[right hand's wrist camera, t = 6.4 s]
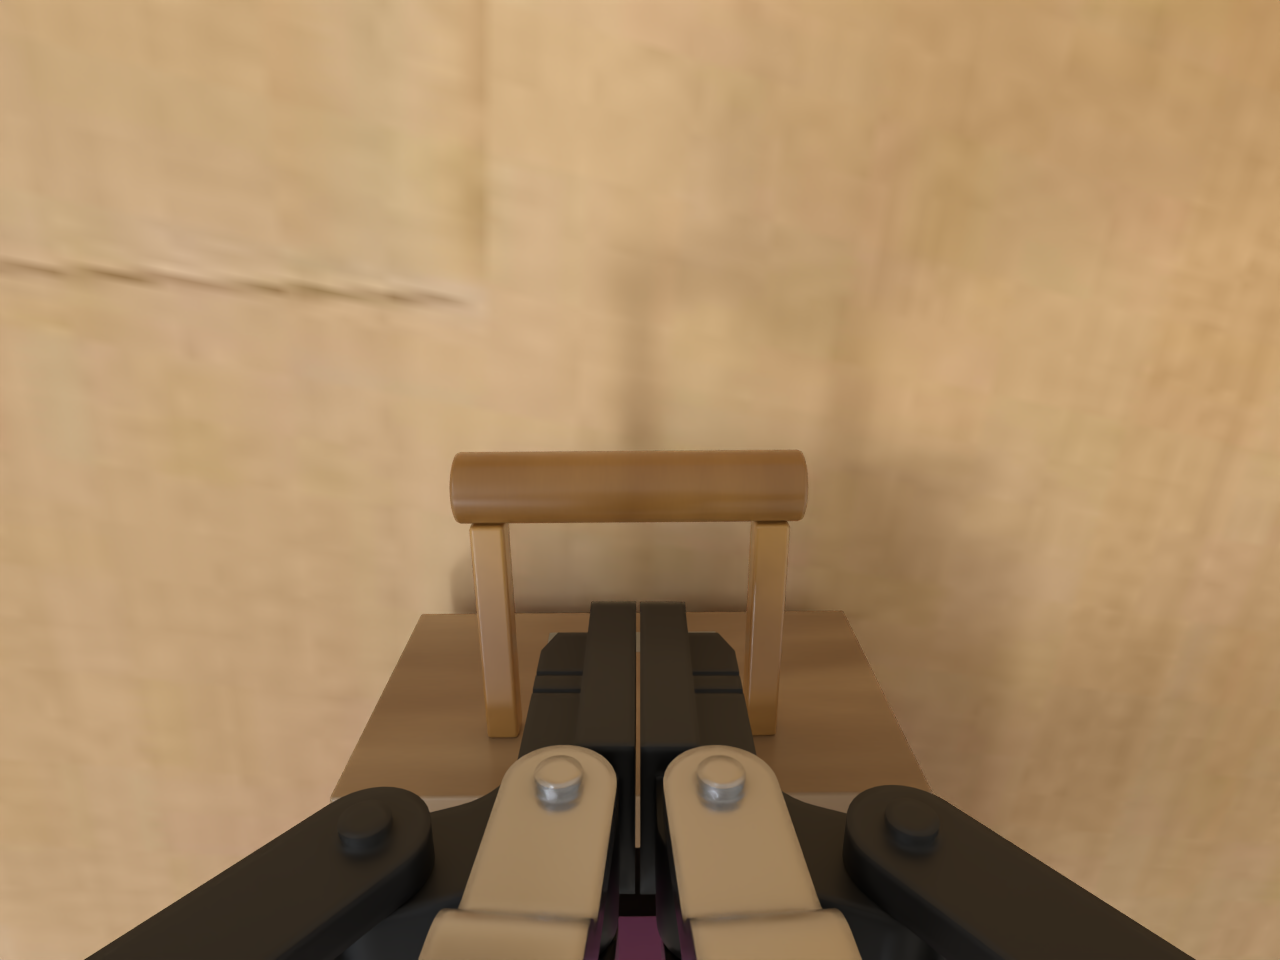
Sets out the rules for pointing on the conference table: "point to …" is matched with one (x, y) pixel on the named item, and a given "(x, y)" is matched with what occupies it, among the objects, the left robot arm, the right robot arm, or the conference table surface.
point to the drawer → (511, 643)
